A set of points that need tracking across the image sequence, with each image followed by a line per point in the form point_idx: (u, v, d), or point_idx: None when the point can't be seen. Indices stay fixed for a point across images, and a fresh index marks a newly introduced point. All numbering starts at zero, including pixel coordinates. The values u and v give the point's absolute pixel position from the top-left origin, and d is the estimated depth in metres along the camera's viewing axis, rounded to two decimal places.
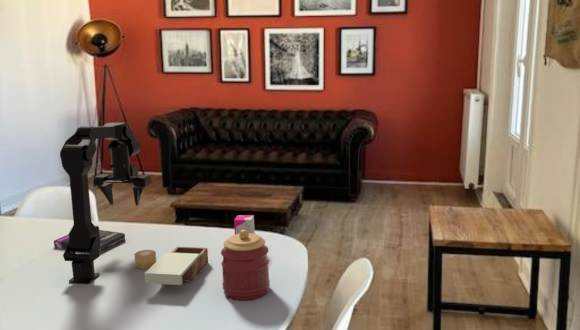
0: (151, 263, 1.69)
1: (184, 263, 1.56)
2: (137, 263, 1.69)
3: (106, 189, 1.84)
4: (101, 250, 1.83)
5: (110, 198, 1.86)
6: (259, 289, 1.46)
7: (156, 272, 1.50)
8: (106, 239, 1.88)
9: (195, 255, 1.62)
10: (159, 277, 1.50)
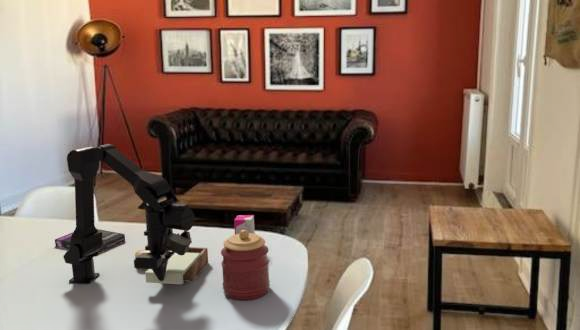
0: None
1: (185, 262, 1.57)
2: None
3: None
4: (99, 250, 1.83)
5: None
6: (259, 289, 1.46)
7: None
8: (105, 239, 1.88)
9: (196, 254, 1.62)
10: None
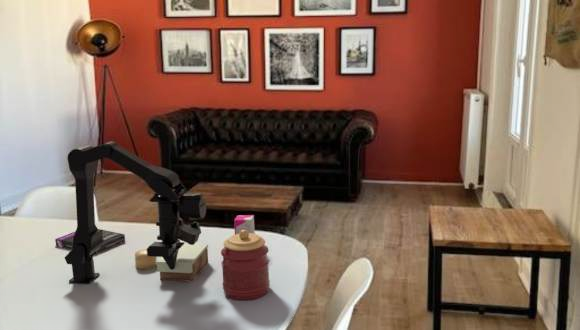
0: (154, 261, 1.70)
1: (194, 252, 1.64)
2: (141, 263, 1.68)
3: None
4: (98, 251, 1.83)
5: None
6: (259, 289, 1.46)
7: None
8: (105, 239, 1.88)
9: (204, 245, 1.70)
10: None
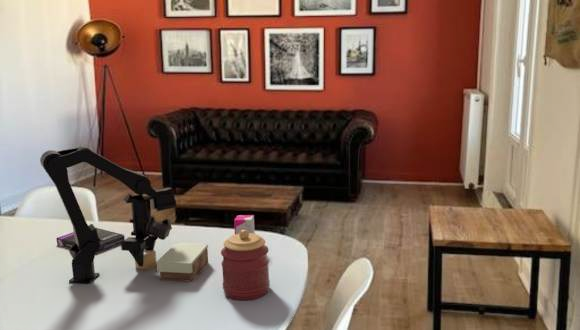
0: None
1: (194, 252, 1.64)
2: (146, 263, 1.68)
3: None
4: None
5: None
6: (259, 289, 1.46)
7: (167, 261, 1.58)
8: (104, 240, 1.88)
9: (204, 245, 1.70)
10: (170, 266, 1.57)
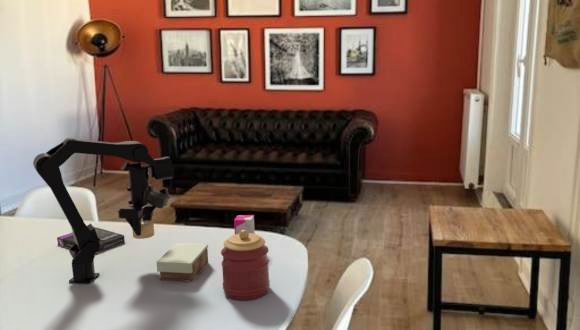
0: (153, 229, 1.70)
1: (194, 252, 1.64)
2: (144, 232, 1.66)
3: None
4: None
5: None
6: (259, 289, 1.46)
7: (167, 261, 1.58)
8: (103, 240, 1.87)
9: (204, 245, 1.70)
10: (170, 266, 1.57)
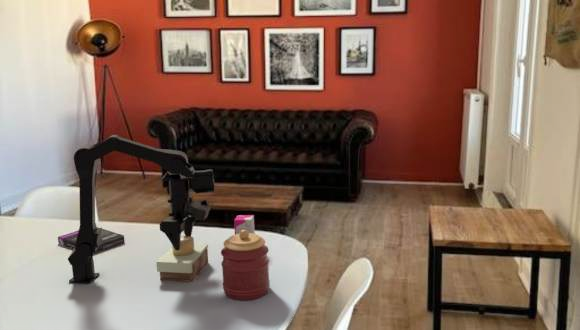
0: None
1: (194, 252, 1.64)
2: (185, 249, 1.62)
3: None
4: None
5: (185, 231, 1.68)
6: (259, 289, 1.46)
7: (167, 261, 1.58)
8: (103, 240, 1.87)
9: (204, 245, 1.70)
10: (170, 266, 1.57)
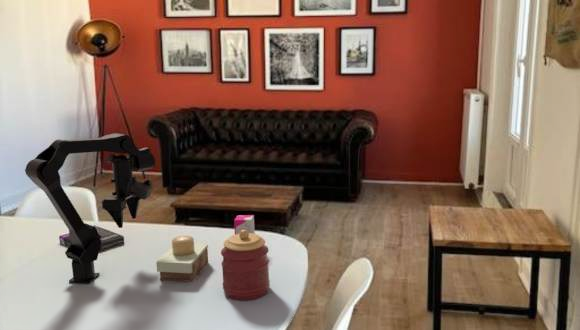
0: None
1: (194, 252, 1.64)
2: (185, 250, 1.62)
3: (127, 200, 1.76)
4: None
5: (131, 211, 1.76)
6: (259, 289, 1.46)
7: (167, 261, 1.58)
8: (102, 240, 1.87)
9: (204, 245, 1.70)
10: (170, 266, 1.57)
